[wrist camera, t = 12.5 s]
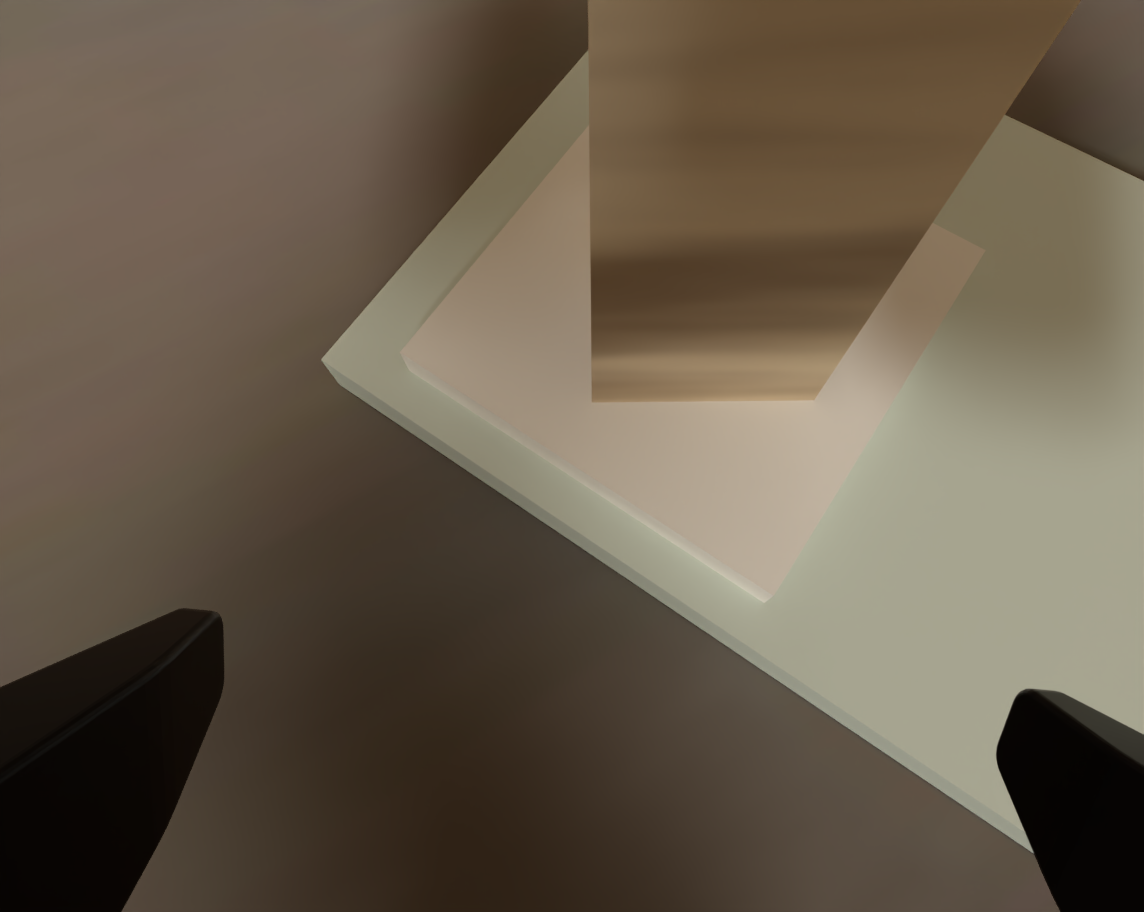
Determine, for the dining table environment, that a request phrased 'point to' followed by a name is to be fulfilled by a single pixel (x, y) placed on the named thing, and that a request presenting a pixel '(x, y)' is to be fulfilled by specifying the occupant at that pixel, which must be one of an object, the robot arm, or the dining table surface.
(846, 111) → the pillar block
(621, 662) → the dining table surface
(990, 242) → the board
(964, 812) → the dining table surface
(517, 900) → the dining table surface
